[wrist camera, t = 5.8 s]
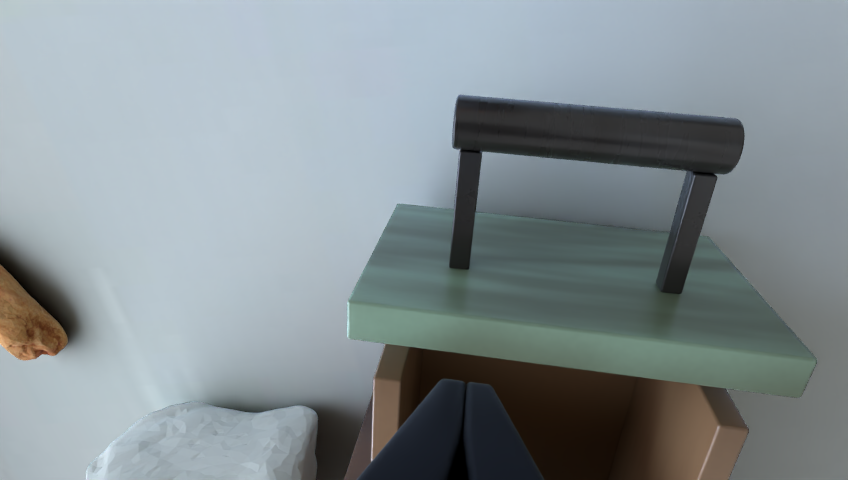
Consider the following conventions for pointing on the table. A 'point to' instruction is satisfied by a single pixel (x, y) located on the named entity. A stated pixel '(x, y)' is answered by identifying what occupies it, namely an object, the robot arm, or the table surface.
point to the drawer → (579, 304)
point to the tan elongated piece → (26, 323)
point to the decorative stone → (213, 445)
